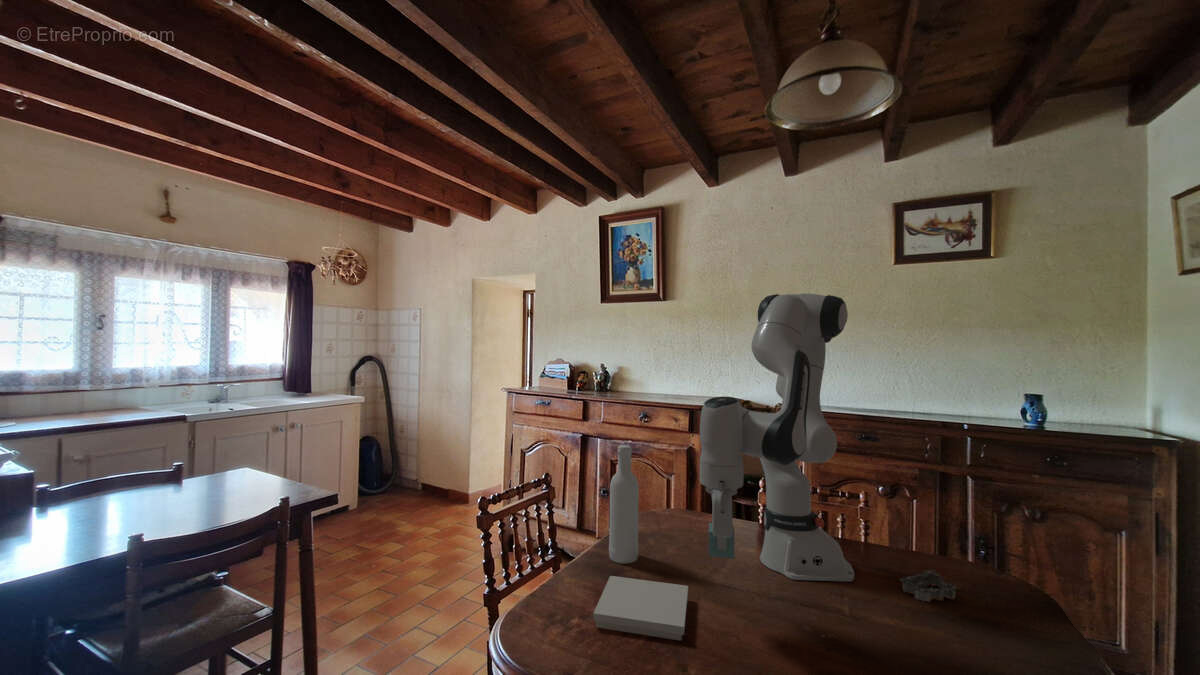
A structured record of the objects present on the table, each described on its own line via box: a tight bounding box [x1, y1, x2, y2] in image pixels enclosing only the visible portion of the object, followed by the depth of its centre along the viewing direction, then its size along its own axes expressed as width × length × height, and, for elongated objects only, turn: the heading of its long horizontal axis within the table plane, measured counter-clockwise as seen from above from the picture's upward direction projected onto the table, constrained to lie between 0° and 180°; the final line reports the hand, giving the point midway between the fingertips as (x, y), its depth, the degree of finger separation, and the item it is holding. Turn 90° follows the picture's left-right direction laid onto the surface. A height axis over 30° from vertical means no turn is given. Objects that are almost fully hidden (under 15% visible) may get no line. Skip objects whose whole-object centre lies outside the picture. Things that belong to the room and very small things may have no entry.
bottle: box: [608, 444, 640, 565], centre depth 125 cm, size 8×8×30 cm
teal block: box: [708, 522, 735, 560], centre depth 96 cm, size 5×5×5 cm
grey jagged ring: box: [898, 569, 960, 602], centre depth 108 cm, size 11×8×4 cm
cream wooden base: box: [592, 575, 689, 641], centre depth 98 cm, size 18×16×3 cm
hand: (721, 542), depth 96 cm, fingers closed on teal block, 5 cm apart
